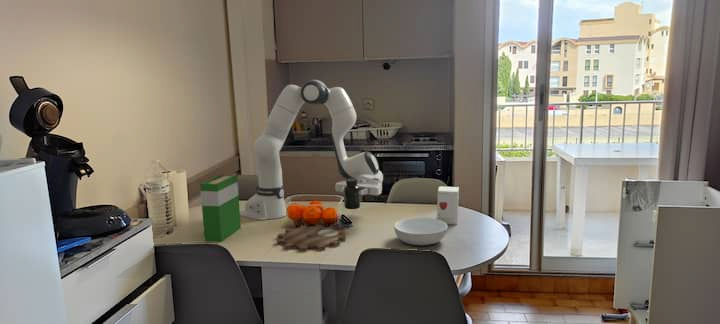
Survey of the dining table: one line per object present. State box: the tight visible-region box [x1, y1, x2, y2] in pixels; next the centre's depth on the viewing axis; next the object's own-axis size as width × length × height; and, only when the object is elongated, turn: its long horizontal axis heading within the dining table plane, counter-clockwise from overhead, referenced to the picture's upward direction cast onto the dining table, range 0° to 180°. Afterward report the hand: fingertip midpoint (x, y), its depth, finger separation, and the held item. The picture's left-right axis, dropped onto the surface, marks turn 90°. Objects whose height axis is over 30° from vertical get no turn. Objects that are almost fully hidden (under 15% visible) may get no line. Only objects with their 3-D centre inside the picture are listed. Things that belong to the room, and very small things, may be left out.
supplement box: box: [436, 186, 460, 225], centre depth 218 cm, size 9×9×15 cm
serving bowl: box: [393, 217, 449, 246], centre depth 194 cm, size 21×21×7 cm
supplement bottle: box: [343, 178, 361, 210], centre depth 208 cm, size 7×7×12 cm
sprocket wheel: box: [276, 224, 347, 253], centre depth 200 cm, size 28×28×2 cm
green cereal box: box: [199, 173, 242, 243], centre depth 205 cm, size 18×7×24 cm, turn 168°
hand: (351, 192), depth 207 cm, fingers closed on supplement bottle, 7 cm apart
